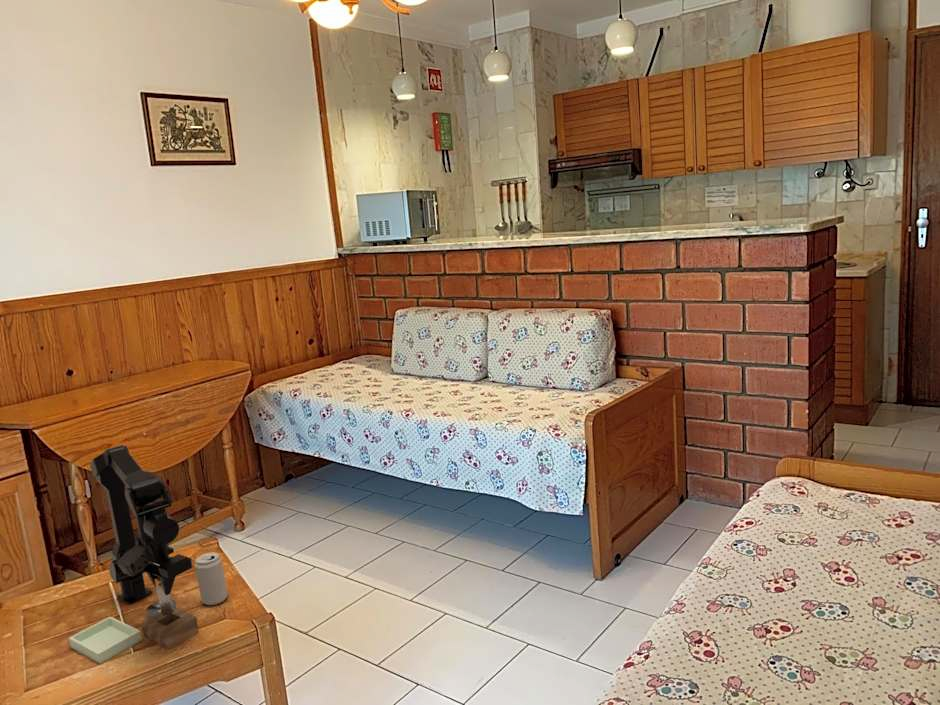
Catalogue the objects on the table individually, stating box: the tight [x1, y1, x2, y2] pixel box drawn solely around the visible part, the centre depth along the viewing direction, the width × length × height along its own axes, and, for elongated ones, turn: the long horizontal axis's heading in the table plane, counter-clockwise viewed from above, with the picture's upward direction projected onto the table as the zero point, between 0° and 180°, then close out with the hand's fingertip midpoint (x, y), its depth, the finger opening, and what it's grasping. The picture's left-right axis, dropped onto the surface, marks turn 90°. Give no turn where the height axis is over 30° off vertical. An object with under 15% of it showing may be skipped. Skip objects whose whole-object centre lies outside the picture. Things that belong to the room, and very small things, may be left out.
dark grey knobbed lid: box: [145, 599, 178, 620], centre depth 185 cm, size 7×7×3 cm
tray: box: [68, 616, 143, 665], centre depth 175 cm, size 13×10×2 cm
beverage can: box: [194, 551, 228, 606], centre depth 189 cm, size 6×6×12 cm
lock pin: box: [155, 576, 174, 616], centre depth 174 cm, size 3×3×9 cm
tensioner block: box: [141, 607, 200, 650], centre depth 176 cm, size 10×8×4 cm
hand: (163, 592), depth 174 cm, fingers closed on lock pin, 3 cm apart
